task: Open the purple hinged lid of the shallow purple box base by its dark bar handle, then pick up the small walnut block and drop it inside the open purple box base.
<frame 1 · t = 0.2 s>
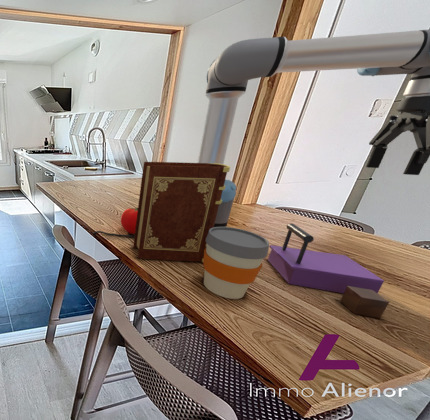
hand: (389, 170, 76), 28 cm above the table, tool pointing down, fingers open, 13 cm apart
purple box base: (314, 277, 69), on the table
reusable coffee cup: (222, 288, 64), on the table
block: (359, 309, 57), on the table
purple hinged lid: (324, 248, 66), point 9 cm above the table, hinge at 0.0°
decorative book: (169, 255, 81), on the table
tomato: (134, 232, 98), on the table
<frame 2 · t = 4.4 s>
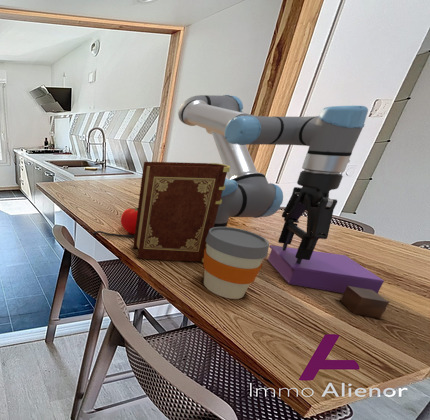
hand: (292, 250, 69), 7 cm above the table, tool pointing down, fingers closed on purple hinged lid, 9 cm apart
purple hinged lid: (324, 248, 66), point 9 cm above the table, hinge at 0.0°, touching gripper
everything else where it was.
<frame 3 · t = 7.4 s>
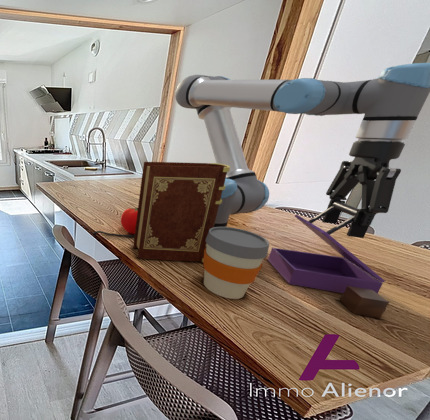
hand: (341, 229, 64), 15 cm above the table, tool pointing down, fingers closed on purple hinged lid, 9 cm apart
purple hinged lid: (353, 235, 63), point 14 cm above the table, hinge at 37.1°, touching gripper
everything else where it was.
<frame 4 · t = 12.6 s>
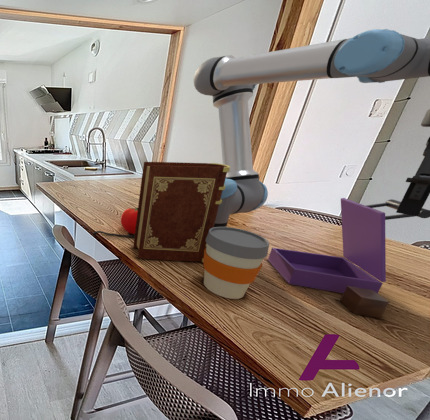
hand: (410, 208, 54), 23 cm above the table, tool pointing down, fingers open, 13 cm apart
purple hinged lid: (385, 235, 61), point 15 cm above the table, hinge at 71.6°, touching gripper
everything else where it was.
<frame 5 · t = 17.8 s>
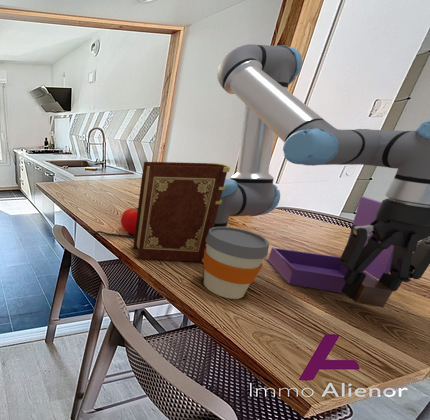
hand: (362, 297, 56), 3 cm above the table, tool pointing down, fingers closed on block, 4 cm apart
block: (361, 298, 56), point 3 cm above the table, touching gripper
purple hinged lid: (396, 238, 61), point 14 cm above the table, hinge at 84.2°
everything else where it was.
when the fingers open (1 cm above the table, at t = 25.1 s): block stays where it is, resting on purple box base.
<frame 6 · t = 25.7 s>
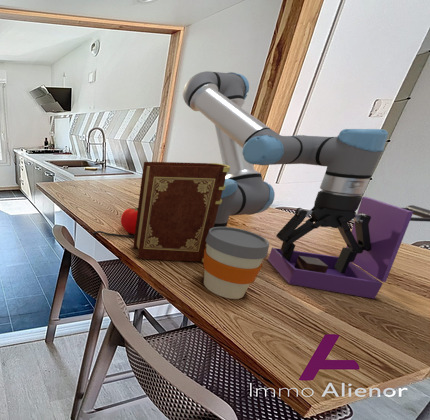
hand: (310, 266, 69), 3 cm above the table, tool pointing down, fingers open, 11 cm apart
block: (307, 274, 69), point 1 cm above the table, touching purple box base
purple hinged lid: (397, 238, 61), point 14 cm above the table, hinge at 85.3°
everything else where it was.
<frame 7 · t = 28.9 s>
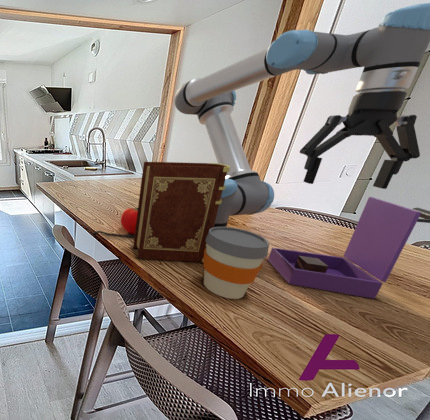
hand: (342, 185, 61), 27 cm above the table, tool pointing down, fingers open, 13 cm apart
purple hinged lid: (400, 239, 60), point 14 cm above the table, hinge at 89.3°
everything else where it was.
at the end: purple hinged lid at +89° (first picture: +0°); block inside the target area in the purple box base (1.9 cm from its centre), point 0.6 cm above the purple box base's base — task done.
